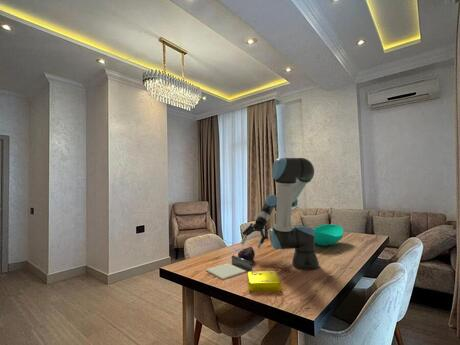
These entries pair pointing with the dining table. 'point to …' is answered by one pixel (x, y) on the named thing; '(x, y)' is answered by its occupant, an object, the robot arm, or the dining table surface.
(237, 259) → the metal rail
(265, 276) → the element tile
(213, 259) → the dining table surface
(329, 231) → the table top decor
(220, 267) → the felt mat
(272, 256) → the dining table surface
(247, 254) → the rock
